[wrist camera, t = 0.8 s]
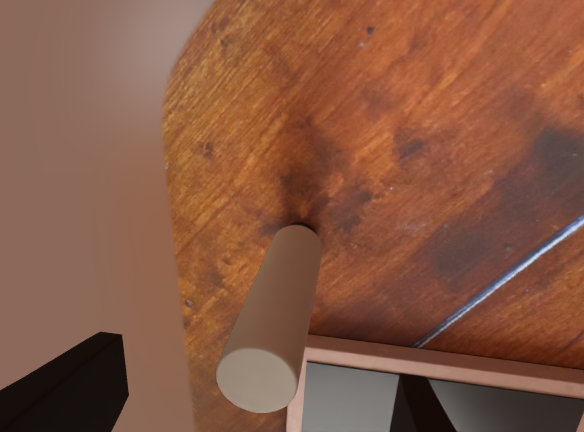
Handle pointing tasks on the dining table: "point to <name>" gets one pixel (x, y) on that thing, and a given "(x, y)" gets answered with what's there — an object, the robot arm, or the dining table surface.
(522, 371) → the tablet
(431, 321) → the dining table surface
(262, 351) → the stylus
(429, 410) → the robot arm
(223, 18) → the dining table surface
